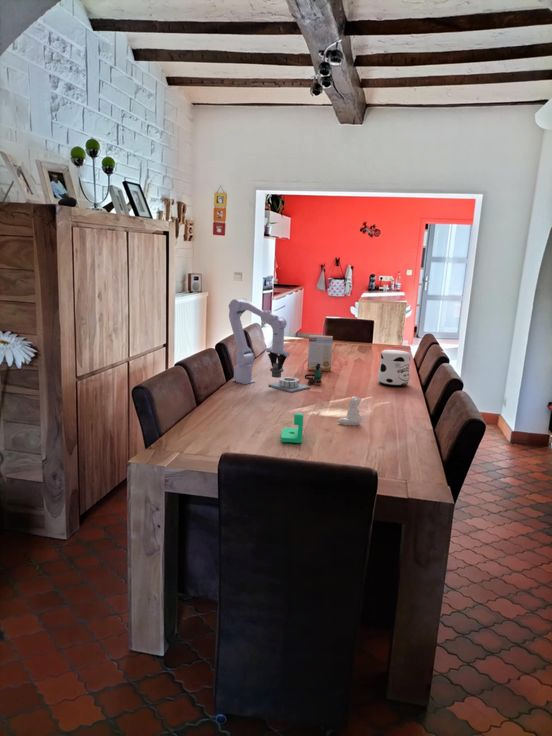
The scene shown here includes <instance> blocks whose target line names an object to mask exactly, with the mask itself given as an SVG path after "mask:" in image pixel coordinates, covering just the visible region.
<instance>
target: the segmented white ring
mask: <svg viewBox="0 0 552 736" xmlns="http://www.w3.org/2000/svg"><path fill="white" fill-rule="evenodd" d="M278 382H279V385H280V386H281V387H285V388H296V387H298V386H299V384H300V379H299V378H296V377H291V376H288V377H287V376H285V377H280V378H279V380H278Z"/></svg>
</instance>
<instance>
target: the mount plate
mask: <svg viewBox="0 0 552 736" xmlns="http://www.w3.org/2000/svg"><path fill="white" fill-rule="evenodd" d="M270 386H271V387H270ZM268 387H270V388H273V387H274V388H273V389H277V388H278V389H277V390H280V389H281V390H282V391H285V392H287V391H288V393H291V394H292V393H297V392H301V391H303V390H304V389H305V390H308V388H309V389H310V386H308V385H305V384H301V383H299V386H298V387H296V388H285V387H281V386H280V385H279V381H278V382H273V383H268ZM300 390H301V391H300ZM305 390H304V391H305Z"/></svg>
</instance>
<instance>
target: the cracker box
mask: <svg viewBox="0 0 552 736" xmlns="http://www.w3.org/2000/svg"><path fill="white" fill-rule="evenodd" d="M333 337H334V336H333V335H318V334H316V335H315V334H309V337H308V351H307V355H308V356H307V371H310V370H316V367H315V366H317V364H320V368H321V372H327V371H332V359H333V357H332V355H333Z"/></svg>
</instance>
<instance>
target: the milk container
mask: <svg viewBox="0 0 552 736" xmlns="http://www.w3.org/2000/svg"><path fill="white" fill-rule="evenodd" d="M410 360H411V353H410V352H409V351H405V350H400V349H383V350H381V353H380V364H379V368H378V371H377V381H378V382H379V383H381V384H383V385H386V386H390V387H405V386H406V385H409V382H410V379H411V375H410V364H411V361H410Z"/></svg>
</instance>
